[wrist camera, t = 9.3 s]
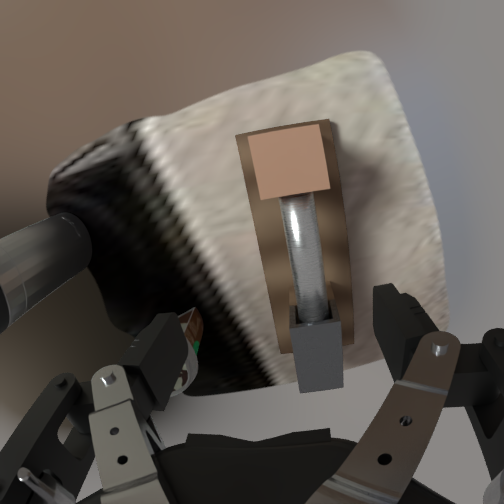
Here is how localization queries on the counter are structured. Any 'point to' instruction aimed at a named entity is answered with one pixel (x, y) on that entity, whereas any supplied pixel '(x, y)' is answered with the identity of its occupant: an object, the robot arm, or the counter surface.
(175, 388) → the food container
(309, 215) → the tube
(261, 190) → the socket
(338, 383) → the sleeve
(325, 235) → the dock
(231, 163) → the counter surface
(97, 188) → the counter surface
